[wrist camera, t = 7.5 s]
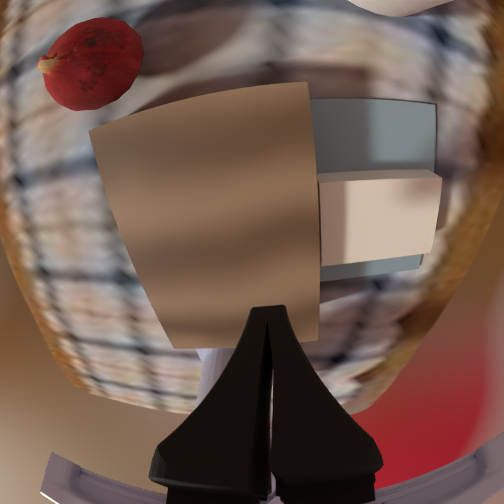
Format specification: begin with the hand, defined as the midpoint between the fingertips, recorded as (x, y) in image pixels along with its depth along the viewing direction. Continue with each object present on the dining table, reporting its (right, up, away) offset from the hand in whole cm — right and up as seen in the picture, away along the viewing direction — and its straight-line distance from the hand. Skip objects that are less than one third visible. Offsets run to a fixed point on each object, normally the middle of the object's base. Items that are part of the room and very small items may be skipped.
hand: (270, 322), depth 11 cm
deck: (-3, +5, +9) cm, 10 cm away
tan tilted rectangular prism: (+8, +6, +7) cm, 12 cm away
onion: (-9, +15, +2) cm, 18 cm away
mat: (+8, +7, +7) cm, 13 cm away
